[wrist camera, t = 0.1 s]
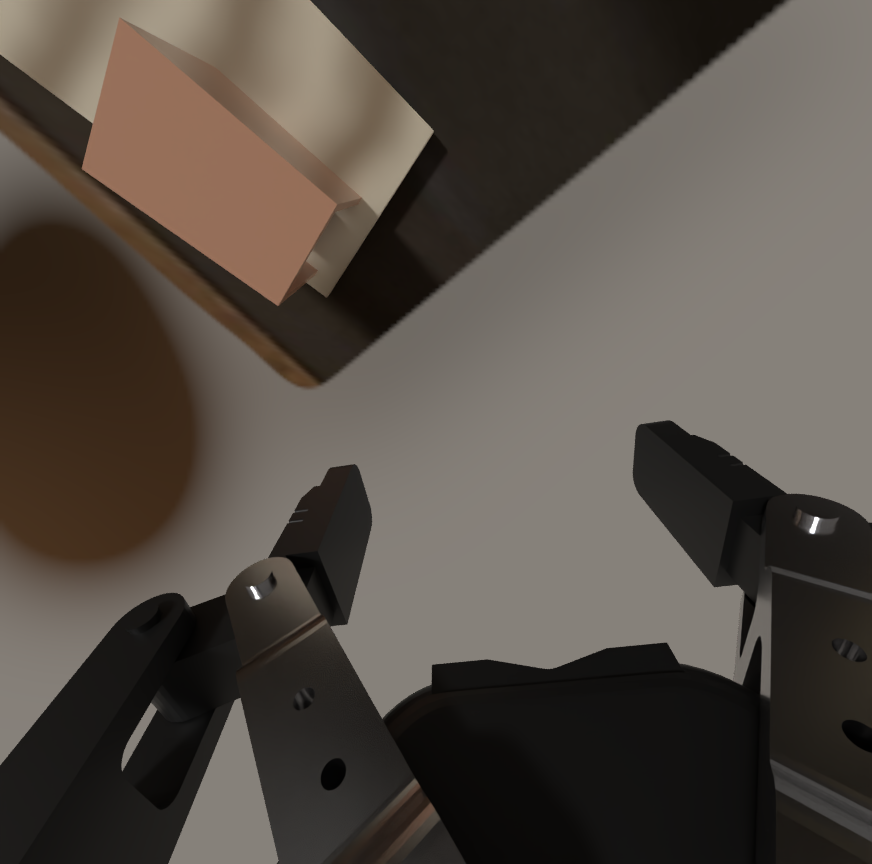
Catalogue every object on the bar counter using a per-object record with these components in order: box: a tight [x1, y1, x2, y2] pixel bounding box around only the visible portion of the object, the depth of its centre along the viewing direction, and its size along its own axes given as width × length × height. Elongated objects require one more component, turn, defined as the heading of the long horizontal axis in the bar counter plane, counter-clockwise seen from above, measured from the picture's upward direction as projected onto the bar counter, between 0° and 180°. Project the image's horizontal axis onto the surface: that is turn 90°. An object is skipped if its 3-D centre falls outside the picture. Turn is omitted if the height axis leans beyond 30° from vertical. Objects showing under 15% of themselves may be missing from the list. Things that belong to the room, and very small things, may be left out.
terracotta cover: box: [82, 17, 362, 306], centre depth 21 cm, size 10×6×8 cm, turn 50°
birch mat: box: [0, 0, 434, 298], centre depth 22 cm, size 24×13×1 cm, turn 50°
